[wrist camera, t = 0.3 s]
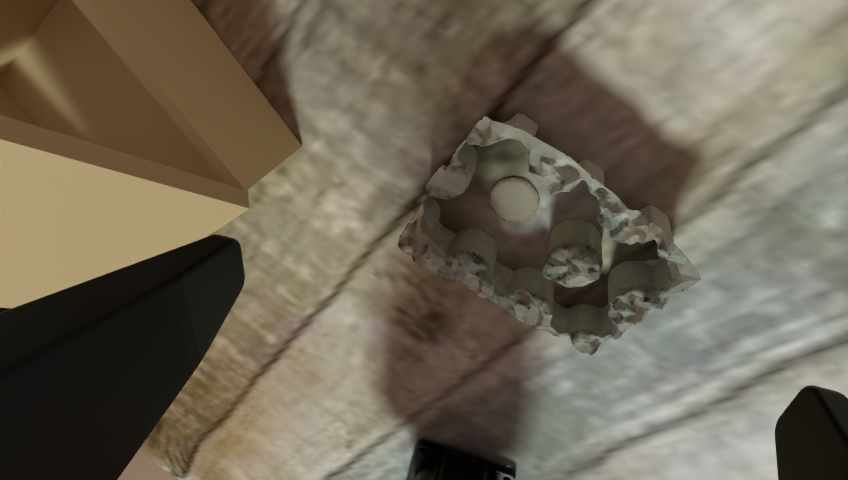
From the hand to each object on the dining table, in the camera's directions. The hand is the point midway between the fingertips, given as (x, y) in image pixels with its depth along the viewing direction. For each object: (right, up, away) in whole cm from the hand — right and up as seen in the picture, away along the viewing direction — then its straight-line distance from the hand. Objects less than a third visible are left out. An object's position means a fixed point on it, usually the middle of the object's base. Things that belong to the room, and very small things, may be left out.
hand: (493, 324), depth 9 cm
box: (-15, +8, +18) cm, 25 cm away
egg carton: (+5, +3, +16) cm, 17 cm away
